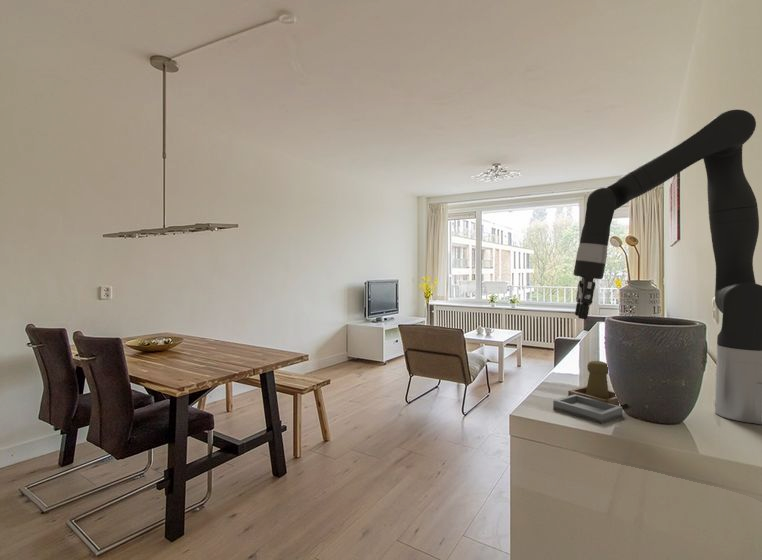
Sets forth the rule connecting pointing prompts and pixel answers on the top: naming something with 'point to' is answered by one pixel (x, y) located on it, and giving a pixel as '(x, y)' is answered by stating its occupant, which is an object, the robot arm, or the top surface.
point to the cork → (597, 380)
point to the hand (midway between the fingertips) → (580, 317)
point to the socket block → (582, 392)
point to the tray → (588, 408)
